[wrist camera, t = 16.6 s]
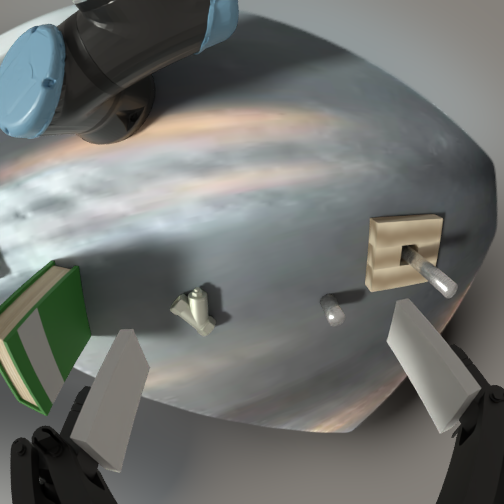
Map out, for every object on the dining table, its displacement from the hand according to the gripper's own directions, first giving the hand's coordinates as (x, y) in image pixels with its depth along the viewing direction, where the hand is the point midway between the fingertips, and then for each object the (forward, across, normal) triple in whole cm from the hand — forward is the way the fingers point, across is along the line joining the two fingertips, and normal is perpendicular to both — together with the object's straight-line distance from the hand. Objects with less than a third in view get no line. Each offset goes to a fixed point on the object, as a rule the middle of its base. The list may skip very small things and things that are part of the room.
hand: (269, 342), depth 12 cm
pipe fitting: (+30, -8, -16) cm, 35 cm away
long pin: (+32, +28, -11) cm, 44 cm away
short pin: (+32, +13, -20) cm, 40 cm away
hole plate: (+32, +28, -11) cm, 44 cm away
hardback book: (+32, -39, -16) cm, 53 cm away
